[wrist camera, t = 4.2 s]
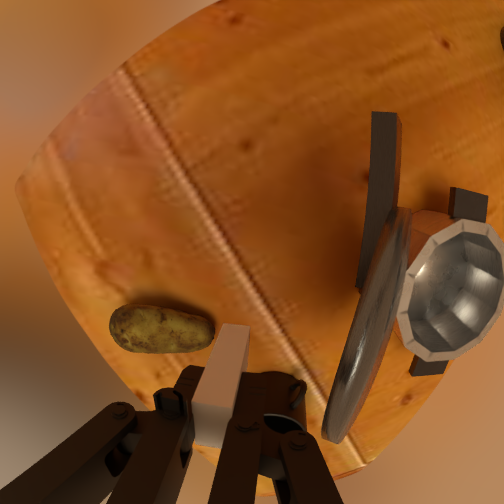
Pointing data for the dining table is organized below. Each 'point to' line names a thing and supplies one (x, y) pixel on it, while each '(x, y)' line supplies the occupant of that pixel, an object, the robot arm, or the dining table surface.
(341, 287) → the dining table surface
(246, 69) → the dining table surface
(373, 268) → the lid
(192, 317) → the potato
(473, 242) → the pot
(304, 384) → the mug
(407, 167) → the dining table surface
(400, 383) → the dining table surface
